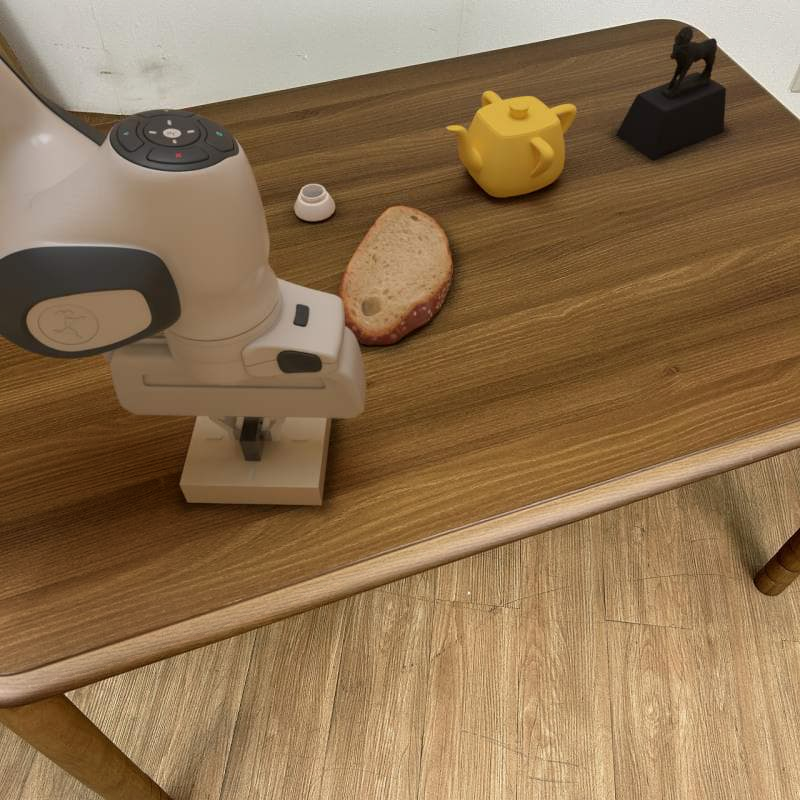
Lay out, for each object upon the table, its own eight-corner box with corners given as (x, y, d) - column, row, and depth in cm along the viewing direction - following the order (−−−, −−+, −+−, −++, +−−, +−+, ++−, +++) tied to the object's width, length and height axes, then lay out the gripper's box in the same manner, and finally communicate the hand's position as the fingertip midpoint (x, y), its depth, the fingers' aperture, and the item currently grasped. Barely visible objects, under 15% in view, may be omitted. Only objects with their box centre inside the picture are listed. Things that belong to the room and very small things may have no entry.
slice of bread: (412, 209, 92) (412, 183, 89) (503, 291, 83) (506, 265, 80) (284, 263, 86) (279, 238, 83) (366, 359, 76) (364, 333, 74)
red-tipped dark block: (260, 461, 65) (254, 440, 62) (245, 461, 65) (238, 439, 63) (269, 416, 68) (263, 394, 66) (254, 416, 68) (247, 393, 66)
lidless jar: (330, 225, 90) (338, 200, 93) (328, 205, 88) (337, 180, 91) (290, 222, 91) (300, 197, 94) (287, 202, 89) (297, 177, 92)
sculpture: (612, 132, 102) (638, 20, 90) (686, 106, 106) (720, -4, 94) (651, 161, 98) (683, 47, 86) (727, 133, 102) (767, 20, 90)
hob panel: (187, 502, 66) (178, 483, 64) (209, 414, 72) (202, 393, 70) (321, 505, 66) (318, 486, 63) (331, 416, 72) (329, 395, 69)
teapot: (541, 222, 90) (553, 147, 82) (442, 198, 93) (445, 122, 85) (571, 162, 98) (586, 88, 90) (479, 141, 101) (485, 68, 93)
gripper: (75, 354, 54) (132, 461, 65) (357, 358, 53) (366, 466, 64) (100, 294, 58) (149, 405, 68) (362, 297, 57) (371, 408, 68)
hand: (256, 434), depth 66 cm, fingers closed on red-tipped dark block
